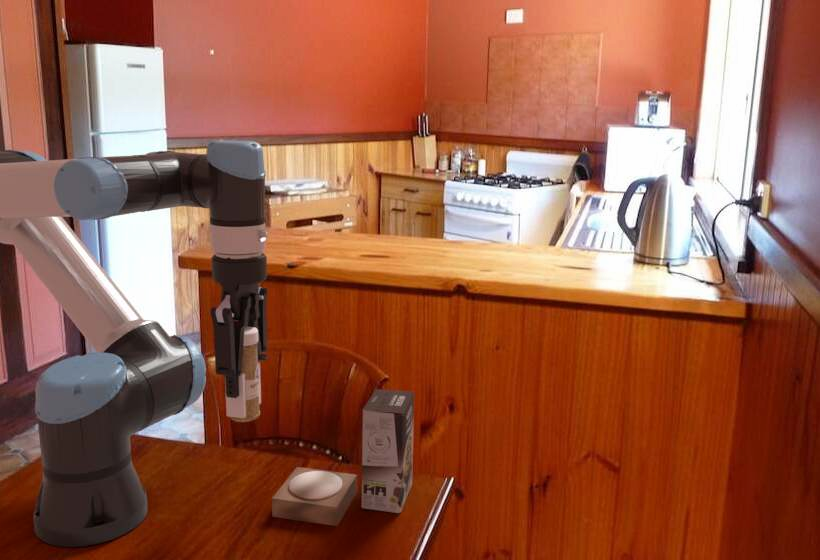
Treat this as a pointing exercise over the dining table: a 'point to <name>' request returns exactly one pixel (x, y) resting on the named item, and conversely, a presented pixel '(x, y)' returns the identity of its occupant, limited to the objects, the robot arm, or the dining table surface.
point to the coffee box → (387, 450)
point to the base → (315, 496)
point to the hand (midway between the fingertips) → (244, 409)
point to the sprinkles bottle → (250, 375)
